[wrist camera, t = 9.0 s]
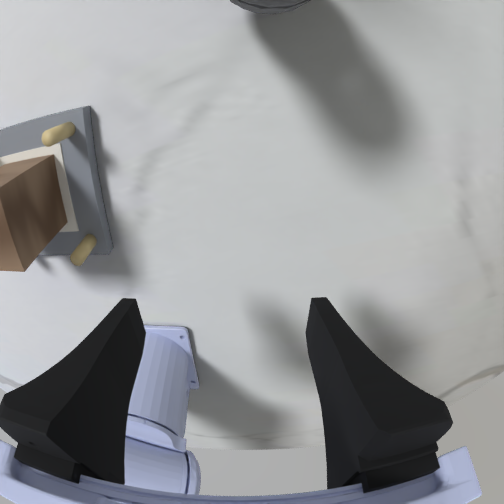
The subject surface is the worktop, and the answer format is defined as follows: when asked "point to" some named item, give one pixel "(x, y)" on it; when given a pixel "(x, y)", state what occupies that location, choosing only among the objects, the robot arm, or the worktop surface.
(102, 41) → the worktop surface
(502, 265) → the worktop surface
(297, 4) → the light bulb
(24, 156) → the standoff board
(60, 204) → the walnut block
